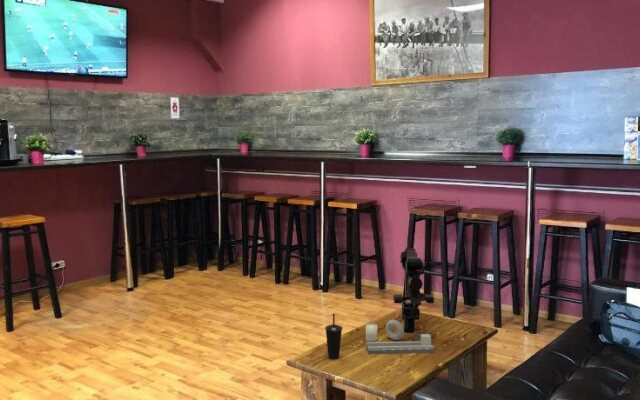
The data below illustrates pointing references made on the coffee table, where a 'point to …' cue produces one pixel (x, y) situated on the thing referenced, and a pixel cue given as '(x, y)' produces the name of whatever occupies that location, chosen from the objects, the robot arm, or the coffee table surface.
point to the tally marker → (425, 339)
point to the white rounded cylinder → (371, 332)
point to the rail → (398, 347)
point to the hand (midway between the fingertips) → (413, 316)
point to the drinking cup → (333, 339)
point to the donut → (398, 326)
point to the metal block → (418, 335)
